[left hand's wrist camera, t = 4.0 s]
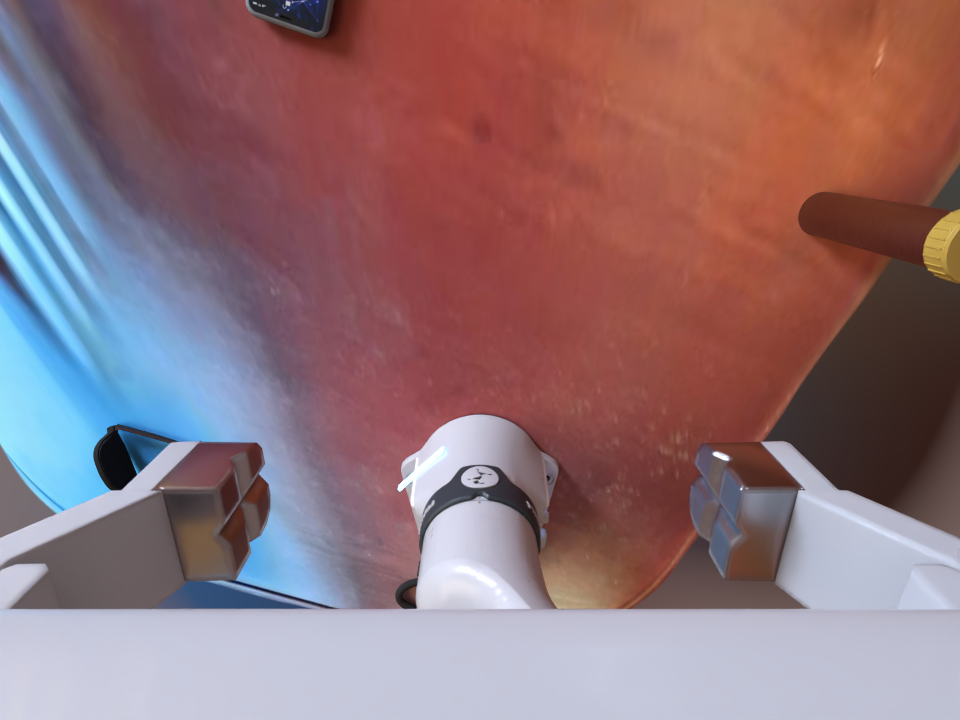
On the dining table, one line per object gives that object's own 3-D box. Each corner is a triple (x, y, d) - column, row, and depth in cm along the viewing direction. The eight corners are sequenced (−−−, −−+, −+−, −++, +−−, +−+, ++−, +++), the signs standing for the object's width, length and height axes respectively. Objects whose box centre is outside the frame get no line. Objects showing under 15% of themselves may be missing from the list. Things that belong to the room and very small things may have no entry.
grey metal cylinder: (789, 218, 55) (933, 255, 38) (821, 183, 54) (985, 203, 36) (817, 243, 56) (972, 289, 39) (849, 208, 55) (1024, 240, 37)
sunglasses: (278, 508, 68) (263, 535, 64) (175, 537, 70) (154, 566, 65) (212, 392, 62) (190, 412, 58) (102, 427, 64) (72, 450, 59)
